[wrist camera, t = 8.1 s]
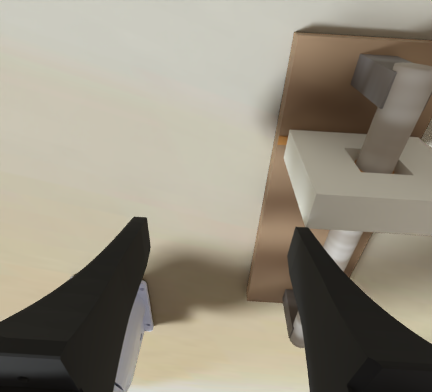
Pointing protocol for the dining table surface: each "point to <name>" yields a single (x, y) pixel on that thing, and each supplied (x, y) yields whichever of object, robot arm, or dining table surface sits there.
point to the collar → (359, 185)
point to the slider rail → (342, 123)
